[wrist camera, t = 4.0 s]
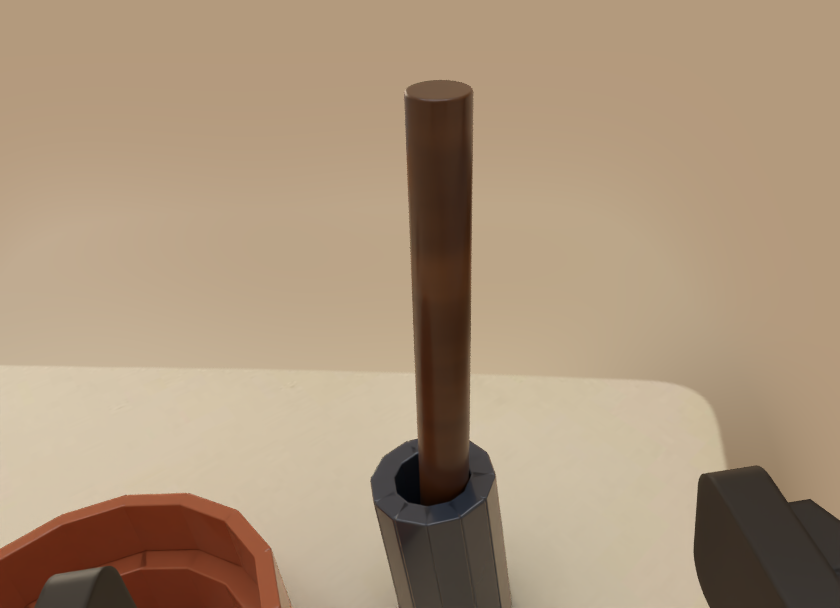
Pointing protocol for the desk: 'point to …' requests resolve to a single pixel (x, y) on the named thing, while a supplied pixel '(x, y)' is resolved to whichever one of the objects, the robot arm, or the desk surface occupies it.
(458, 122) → the stick
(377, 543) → the desk surface
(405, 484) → the tube
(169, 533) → the bowl
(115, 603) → the robot arm
